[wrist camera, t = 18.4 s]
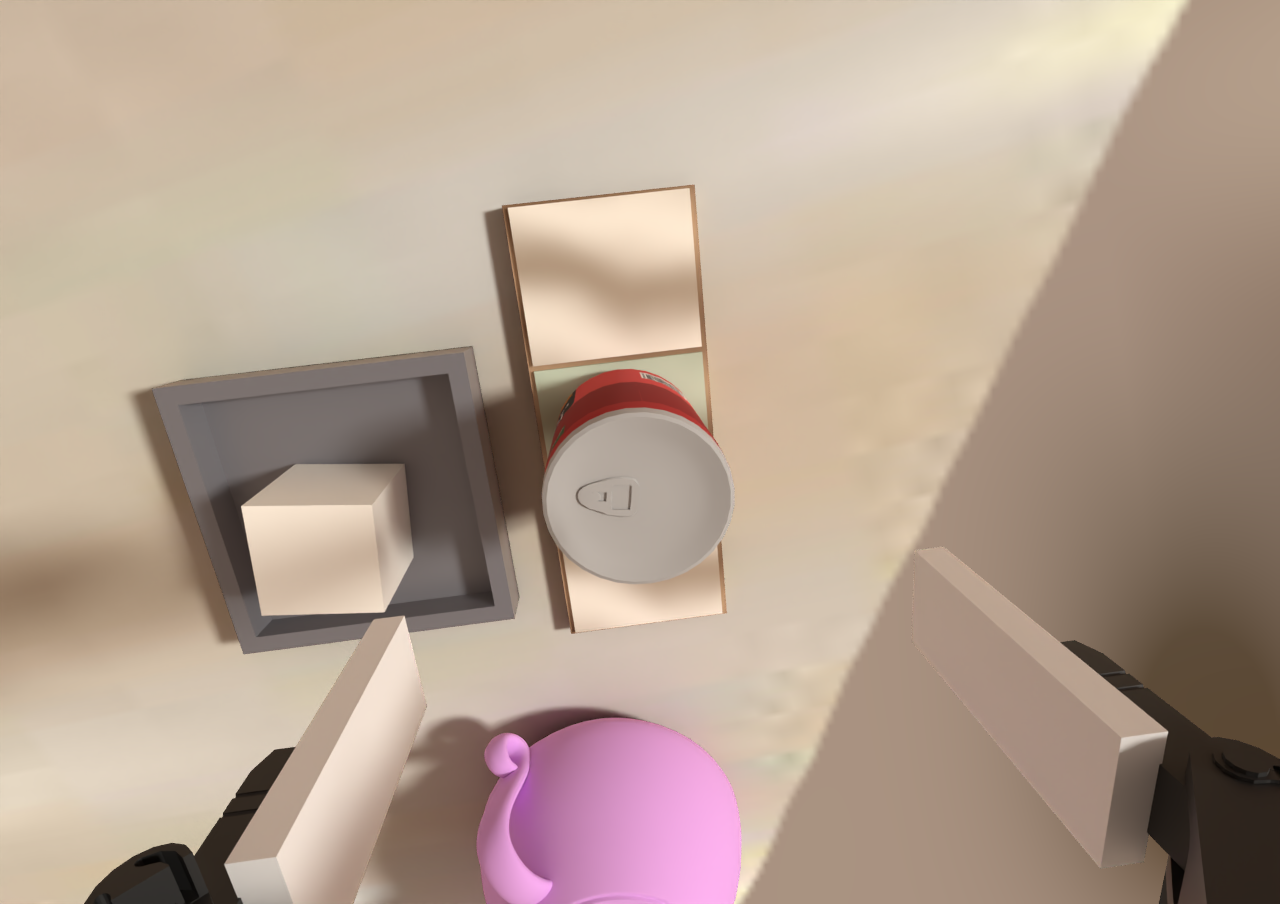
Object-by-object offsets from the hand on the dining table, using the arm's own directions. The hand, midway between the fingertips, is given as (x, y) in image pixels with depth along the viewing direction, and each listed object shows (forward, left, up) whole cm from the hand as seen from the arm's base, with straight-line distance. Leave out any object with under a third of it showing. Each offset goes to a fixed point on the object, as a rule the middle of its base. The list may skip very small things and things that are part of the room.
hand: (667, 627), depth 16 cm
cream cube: (0, -16, -18) cm, 24 cm away
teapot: (+29, -6, -22) cm, 37 cm away
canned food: (0, 0, -21) cm, 21 cm away
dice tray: (+3, -16, -22) cm, 27 cm away
